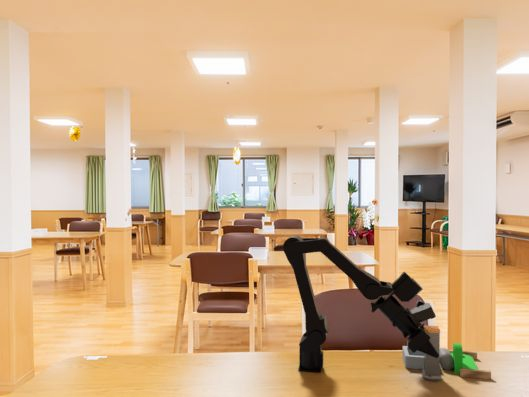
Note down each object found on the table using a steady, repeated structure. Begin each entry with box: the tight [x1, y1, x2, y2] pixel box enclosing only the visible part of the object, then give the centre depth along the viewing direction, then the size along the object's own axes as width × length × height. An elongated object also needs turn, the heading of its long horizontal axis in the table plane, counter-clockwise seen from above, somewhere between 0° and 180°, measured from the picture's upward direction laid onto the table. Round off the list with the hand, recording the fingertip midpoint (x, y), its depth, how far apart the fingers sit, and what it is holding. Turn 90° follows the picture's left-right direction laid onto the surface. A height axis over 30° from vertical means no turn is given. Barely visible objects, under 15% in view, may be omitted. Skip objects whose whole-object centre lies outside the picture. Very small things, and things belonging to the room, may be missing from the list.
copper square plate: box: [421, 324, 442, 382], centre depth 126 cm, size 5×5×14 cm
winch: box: [401, 345, 454, 371], centre depth 136 cm, size 14×9×4 cm, turn 78°
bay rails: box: [448, 349, 492, 380], centre depth 133 cm, size 8×16×2 cm, turn 168°
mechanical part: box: [451, 342, 479, 375], centre depth 133 cm, size 12×6×8 cm, turn 163°
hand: (436, 354), depth 126 cm, fingers closed on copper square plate, 4 cm apart
